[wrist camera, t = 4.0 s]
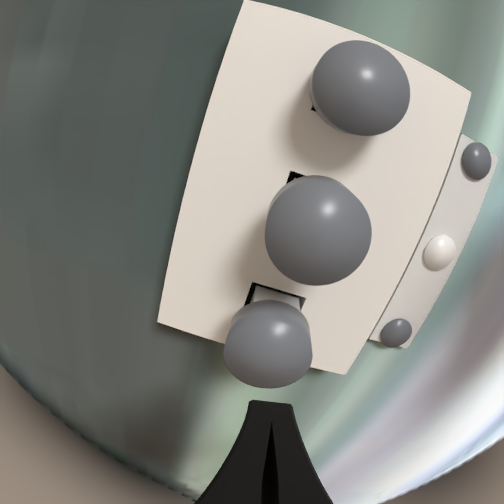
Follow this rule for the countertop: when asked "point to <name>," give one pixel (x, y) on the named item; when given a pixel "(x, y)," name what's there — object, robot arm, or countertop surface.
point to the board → (306, 163)
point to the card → (438, 243)
